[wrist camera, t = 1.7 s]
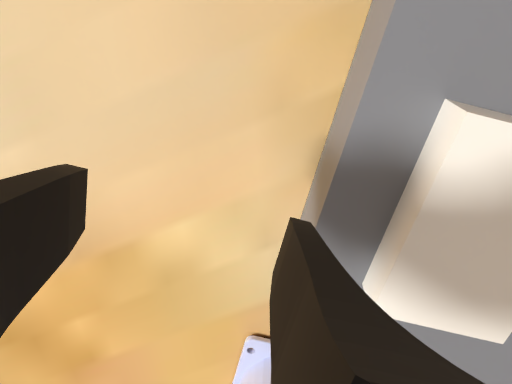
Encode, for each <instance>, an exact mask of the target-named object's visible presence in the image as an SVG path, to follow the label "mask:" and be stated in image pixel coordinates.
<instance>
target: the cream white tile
mask: <svg viewBox="0 0 512 384" xmlns="http://www.w3.org/2000/svg"><path fill="white" fill-rule="evenodd" d="M362 285H363V289H364V292H365V293H366V294H367V295H368V296H369V297H370V298H371V299H372V300H373V301H374V302H375V303H376V304H377V305H379V306H380V307H381V308H382V309H383V310H384V311H385V312H386V313H387V314H388V315H389V316H390V317H392V318H393V319H395V320H399V321H404V322H408V323H412V324H417V325H421V326H425V327H430V328H434V329H438V330H443V331H447V332H452V333H456V334H460V335H465V336H469V337H473V338H478V339H482V340H487V341H491V342H495V343H500V344H504V342H505V341H506V339H507V338H508V337H509V335H510V334H511V332H512V116H511V115H508V114H504V113H500V112H496V111H492V110H488V109H484V108H480V107H476V106H472V105H468V104H464V103H460V102H457V101H453V100H449V99H445V100H444V102H443V104H442V106H441V109H440V111H439V113H438V115H437V118H436V120H435V122H434V124H433V127H432V129H431V131H430V133H429V135H428V138H427V140H426V142H425V144H424V147H423V149H422V151H421V153H420V156H419V158H418V160H417V162H416V165H415V167H414V169H413V171H412V173H411V176H410V178H409V180H408V182H407V185H406V187H405V189H404V191H403V194H402V196H401V198H400V200H399V203H398V205H397V207H396V209H395V211H394V214H393V216H392V218H391V220H390V223H389V225H388V227H387V229H386V232H385V234H384V236H383V238H382V241H381V243H380V245H379V247H378V249H377V252H376V254H375V256H374V258H373V261H372V263H371V265H370V267H369V270H368V272H367V274H366V276H365V279H364V281H363V283H362Z"/></svg>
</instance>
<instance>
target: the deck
mask: <svg viewBox="0 0 512 384" xmlns="http://www.w3.org/2000/svg"><path fill="white" fill-rule="evenodd" d="M445 99H449V100H453V101H457V102H460V103H464V104H468V105H472V106H476V107H480V108H484V109H488V110H492V111H496V112H500V113H504V114H508V115H511V116H512V0H372V3H371V6H370V9H369V12H368V15H367V18H366V21H365V24H364V27H363V30H362V33H361V36H360V39H359V42H358V45H357V49H356V52H355V55H354V58H353V61H352V64H351V67H350V70H349V73H348V76H347V79H346V82H345V85H344V88H343V91H342V94H341V97H340V100H339V103H338V106H337V109H336V112H335V115H334V118H333V121H332V125H331V128H330V131H329V134H328V137H327V140H326V143H325V146H324V149H323V152H322V155H321V158H320V161H319V164H318V167H317V170H316V173H315V176H314V179H313V182H312V185H311V188H310V191H309V194H308V197H307V201H306V204H305V207H304V210H303V213H302V216H301V219H300V220H304V221H308V222H311V223H312V225H313V226H314V227H315V229H316V230H317V232H318V233H319V235H320V236H321V237H322V239H323V240H324V242H325V243H326V245H327V246H328V247H329V249H330V250H331V252H332V253H333V254H334V256H335V257H336V258H337V260H338V261H339V262H340V264H341V265H342V266H343V267H344V269H345V270H346V271H347V272H348V273H349V275H350V276H351V277H352V278H353V279H354V280H355V282H356V283H357V284H358V285H359V286H360V287H361V288H362V289H363V285H362V283H363V281H364V279H365V276H366V274H367V272H368V270H369V267H370V265H371V263H372V261H373V258H374V256H375V254H376V252H377V249H378V247H379V245H380V243H381V241H382V238H383V236H384V234H385V232H386V229H387V227H388V225H389V223H390V220H391V218H392V216H393V214H394V211H395V209H396V207H397V205H398V203H399V200H400V198H401V196H402V194H403V191H404V189H405V187H406V185H407V182H408V180H409V178H410V176H411V173H412V171H413V169H414V167H415V165H416V162H417V160H418V158H419V156H420V153H421V151H422V149H423V147H424V144H425V142H426V140H427V138H428V135H429V133H430V131H431V129H432V127H433V124H434V122H435V120H436V118H437V115H438V113H439V111H440V109H441V106H442V104H443V102H444V100H445ZM363 291H364V289H363ZM394 320H395V319H394ZM395 321H396V322H397V323H399V324H400V325H401V326H402V327H404V328H405V329H406V330H407V331H408V332H410V333H411V334H412V335H413V336H415V337H416V338H417V339H419V340H420V341H421V342H423V343H424V344H425V345H427V346H428V347H429V348H431V349H432V350H434V351H435V352H436V353H438V354H439V355H441V356H442V357H444V358H445V359H447V360H448V361H449V362H451V363H452V364H454V365H455V366H457V367H458V368H460V369H462V370H463V371H465V372H467V373H468V374H470V375H472V376H473V377H475V378H477V379H478V380H480V381H482V382H483V383H485V384H512V332H511V334H510V335H509V337H508V338H507V339H506V341H505V342H504V344H500V343H495V342H491V341H487V340H482V339H478V338H473V337H469V336H465V335H460V334H456V333H452V332H447V331H443V330H438V329H434V328H430V327H425V326H421V325H417V324H412V323H408V322H404V321H399V320H395Z"/></svg>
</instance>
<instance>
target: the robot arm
mask: <svg viewBox="0 0 512 384" xmlns="http://www.w3.org/2000/svg"><path fill="white" fill-rule="evenodd" d="M87 173H88V169H85V168H81V167H77V166H73V165H68V164H64V165H57V166H52V167H48V168H44V169H40V170H36V171H32V172H28V173H24V174H21V175H17V176H13V177H9V178H5V179H1V180H0V338H1V336H2V335H3V333H4V332H5V330H6V329H7V328H8V326H9V325H10V324H11V323H12V321H13V320H14V319H15V317H16V316H17V315H18V314H19V313H20V311H21V310H22V309H23V308H24V307H25V306H26V304H27V303H28V302H29V301H30V300H31V299H32V297H33V296H34V295H35V294H36V293H37V292H38V291H39V289H40V288H41V287H42V286H43V285H44V284H45V282H46V281H47V280H48V279H49V278H50V277H51V275H52V274H53V273H54V272H55V271H56V270H57V268H58V267H59V266H60V265H61V264H62V262H63V261H64V260H65V259H66V258H67V256H68V255H69V254H70V252H71V251H72V249H73V247H74V246H75V244H76V243H77V241H78V239H79V238H80V236H81V234H82V233H83V231H84V230H85V215H86V194H87ZM250 348H253V349H250ZM232 384H485V383H483V382H482V381H480V380H478V379H477V378H475V377H473V376H472V375H470V374H468V373H467V372H465V371H463V370H462V369H460V368H458V367H457V366H455V365H454V364H452V363H451V362H449V361H448V360H447V359H445V358H444V357H442V356H441V355H439V354H438V353H436V352H435V351H434V350H432V349H431V348H429V347H428V346H427V345H425V344H424V343H423V342H421V341H420V340H419V339H417V338H416V337H415V336H413V335H412V334H411V333H410V332H408V331H407V330H406V329H405V328H404V327H402V326H401V325H400V324H399V323H397V322H396V321H395V320H394V319H393V318H392V317H390V316H389V315H388V314H387V313H386V312H385V311H384V310H383V309H382V308H381V307H380V306H379V305H377V304H376V303H375V302H374V301H373V300H372V299H371V298H370V297H369V296H368V295H367V294H366V293H365V292H364V291H363V289H362V288H361V287H360V286H359V285H358V284H357V283H356V282H355V280H354V279H353V278H352V277H351V276H350V275H349V273H348V272H347V271H346V270H345V269H344V267H343V266H342V265H341V264H340V262H339V261H338V260H337V258H336V257H335V256H334V254H333V253H332V252H331V250H330V249H329V247H328V246H327V245H326V243H325V242H324V240H323V239H322V237H321V236H320V235H319V233H318V232H317V230H316V229H315V227H314V226H313V225H312V223H311V222H308V221H304V220H300V219H296V218H291V217H290V220H289V223H288V226H287V229H286V233H285V236H284V239H283V242H282V245H281V248H280V252H279V255H278V258H277V261H276V264H275V267H274V271H273V276H272V285H271V294H270V339H267V338H263V337H258V336H248V337H247V338H246V340H245V343H244V346H243V350H242V353H241V356H240V359H239V363H238V366H237V369H236V373H235V376H234V379H233V382H232Z"/></svg>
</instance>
